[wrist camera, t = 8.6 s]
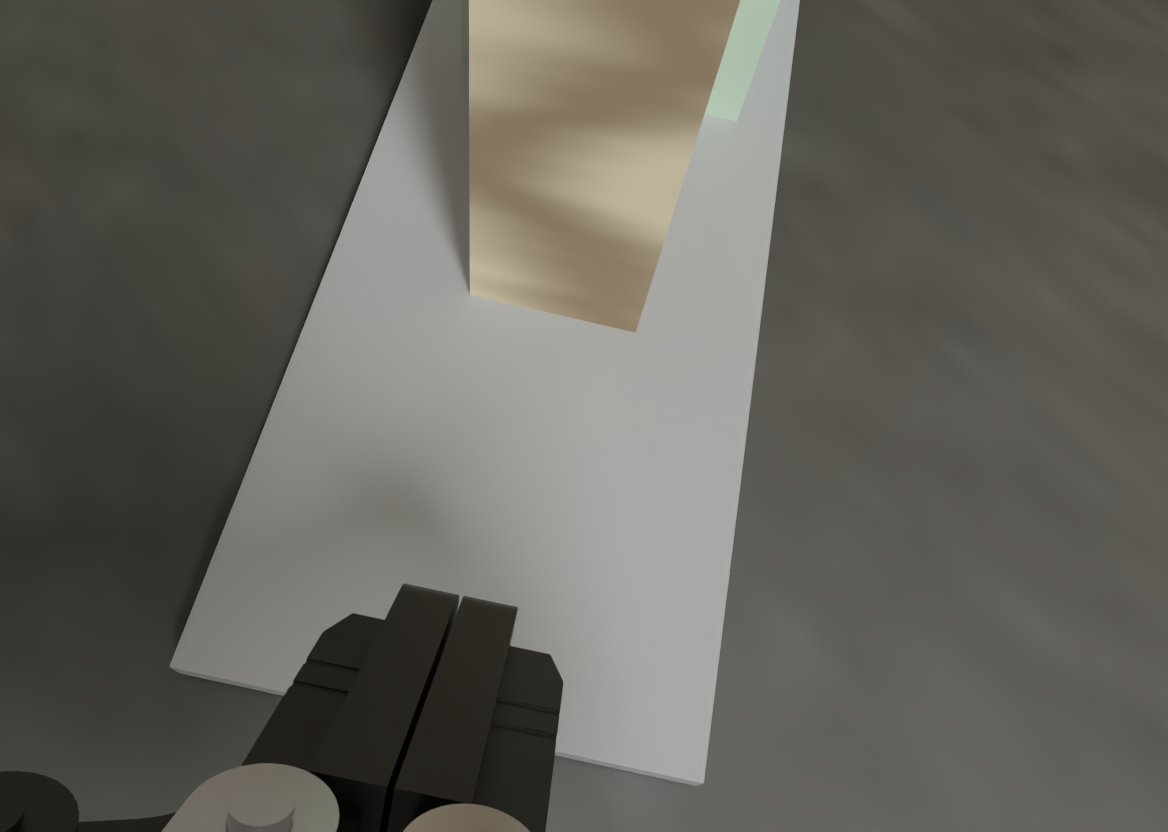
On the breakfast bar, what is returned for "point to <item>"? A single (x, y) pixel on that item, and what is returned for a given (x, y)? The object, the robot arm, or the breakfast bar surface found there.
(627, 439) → the board
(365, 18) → the breakfast bar surface
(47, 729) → the breakfast bar surface
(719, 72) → the end cap
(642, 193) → the tan wooden block
